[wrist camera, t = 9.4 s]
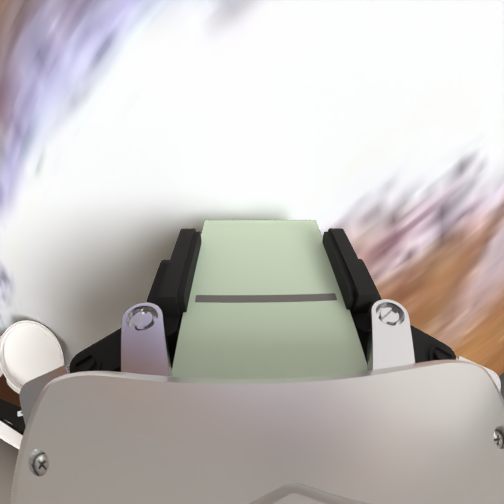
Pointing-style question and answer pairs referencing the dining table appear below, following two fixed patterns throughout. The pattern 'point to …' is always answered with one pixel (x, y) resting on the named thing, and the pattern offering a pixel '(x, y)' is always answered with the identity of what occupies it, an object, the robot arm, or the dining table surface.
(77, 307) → the dining table surface
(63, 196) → the dining table surface
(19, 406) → the spread jar
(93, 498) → the robot arm
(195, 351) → the green domino
